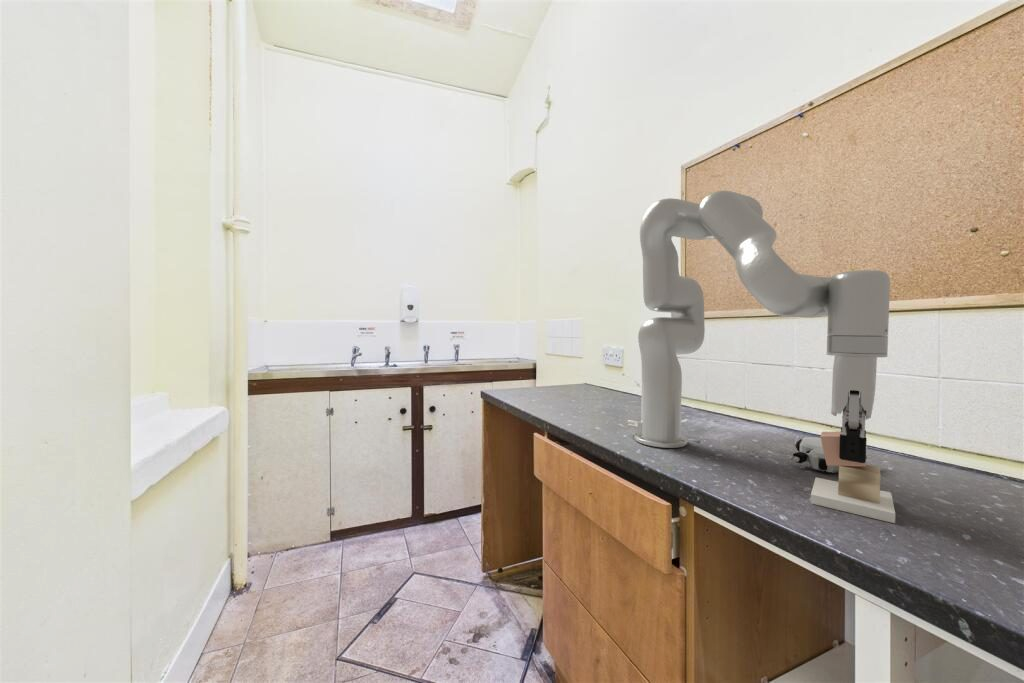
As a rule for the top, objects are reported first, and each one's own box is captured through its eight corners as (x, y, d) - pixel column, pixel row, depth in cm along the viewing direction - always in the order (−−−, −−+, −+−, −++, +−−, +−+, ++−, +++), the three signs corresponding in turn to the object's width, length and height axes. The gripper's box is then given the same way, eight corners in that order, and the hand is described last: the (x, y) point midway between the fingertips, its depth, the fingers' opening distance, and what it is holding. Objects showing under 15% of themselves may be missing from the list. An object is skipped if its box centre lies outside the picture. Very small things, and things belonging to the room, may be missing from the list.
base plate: (810, 503, 65) (810, 494, 65) (815, 485, 72) (815, 477, 72) (895, 523, 58) (895, 513, 58) (890, 501, 66) (891, 492, 66)
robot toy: (863, 488, 73) (867, 463, 84) (864, 465, 73) (867, 442, 84) (784, 471, 82) (797, 450, 93) (785, 450, 82) (797, 432, 92)
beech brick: (838, 494, 65) (839, 465, 65) (838, 487, 68) (839, 459, 68) (879, 503, 61) (880, 473, 61) (878, 495, 64) (879, 466, 64)
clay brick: (826, 465, 66) (820, 436, 66) (827, 459, 69) (822, 431, 69) (866, 466, 62) (859, 436, 63) (865, 460, 65) (859, 431, 66)
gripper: (829, 344, 73) (826, 441, 74) (823, 348, 60) (820, 464, 61) (884, 346, 68) (881, 449, 69) (891, 350, 55) (886, 476, 56)
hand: (852, 455), depth 65 cm, fingers open, 5 cm apart
